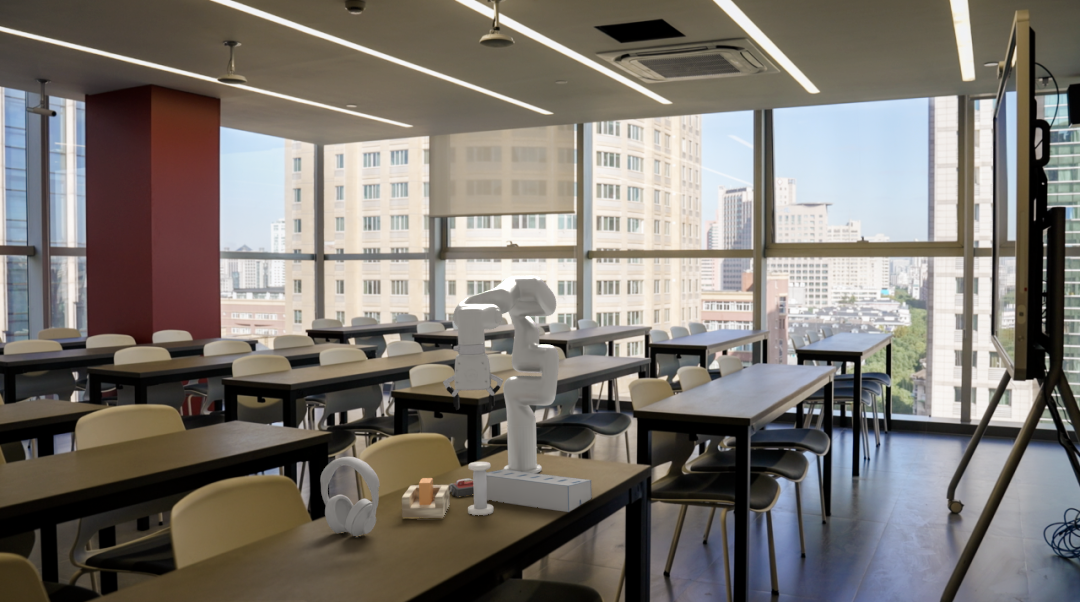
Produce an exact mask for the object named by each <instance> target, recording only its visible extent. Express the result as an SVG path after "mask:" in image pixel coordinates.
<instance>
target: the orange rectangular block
mask: <svg viewBox="0 0 1080 602" xmlns="http://www.w3.org/2000/svg"><path fill="white" fill-rule="evenodd" d="M418 485H419V505H431V503H432V501H433V485H434V479H433V478H432V477H422V478H421V479H420V481H419V482H418Z"/></svg>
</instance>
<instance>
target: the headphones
mask: <svg viewBox="0 0 1080 602" xmlns="http://www.w3.org/2000/svg"><path fill="white" fill-rule="evenodd" d="M342 466H343V467H344V466H347V467H350V468H352V469H354V470H355V471H357V473H358V474H359V475H360V476H361V477H362V479H363V481H364V482H365V484H366V485H367V487H368V490H369V492H370V495H371V501H370V500H369V499H367V498H361V499H360V500H358V501H357V502H356V503H355V504H353V502H352V500H351V499H350V498H349V497H348V496H346V495H344V494H337V495H334V496H331V498H330V497H329V494H328V493H329V492H328V491H329V489H328V488H329V484H330V482H331V480H332V478H333V475H334V474H335V472H336V471H337V469H338V468H340V467H342ZM319 482H320V492H321V496H322V500H323V503H324V505H325V509H324V515H325V520H326V523H327V525H328V527H329V528H330V529H331V530H332V531H333V533H335V534H338V533H341V532H346V533H349V534H350V535H351V536H353V537H354V536H359V535H362V534H363V535H365V534H366V535H368V534H369V533H371V532H372V530H373V529H374V528H375V525H376V523H377V517H376V514H377V508H378V506H379V499H380V495H379V489H380V488H379V487H380V479H379V476H378V474H377V473H376V472H375V469H373V467H371V465H369V464H368V462H366V461H364V460H363V459H360V458H357V457H354V456H342V457H338V458H336V459H333V460H332V461H331V462H330V463H328V464H327V465H326V466H325V468H323V471H322V472H321V475H320V481H319ZM363 535H362V536H363Z"/></svg>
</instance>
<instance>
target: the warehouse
mask: <svg viewBox="0 0 1080 602" xmlns="http://www.w3.org/2000/svg"><path fill="white" fill-rule="evenodd" d="M486 481H487V501H489V500H492V501H491V502H496V501H498V502H497V503H503V502H504V504H510V505H518V506H524V507H532V508H537V507H538V508H539V509H545V510H553V511H559V512H560V511H561V512H564V513H570V512H572V511H573V510H575V509H577V508H578V507H580V506H581V505H583V504H585V503H586V502H588V501H590V500H592V499H591V498H593V497H592V479H586V478H585V479H584V478H583V479H582V478H577V477H576V478H575V477H569V476H559V475H551V474H544V473H543V474H542V473H528V472H520V471H512V470H504V469H498V470H493V471H488V472H487V471H486Z"/></svg>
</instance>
